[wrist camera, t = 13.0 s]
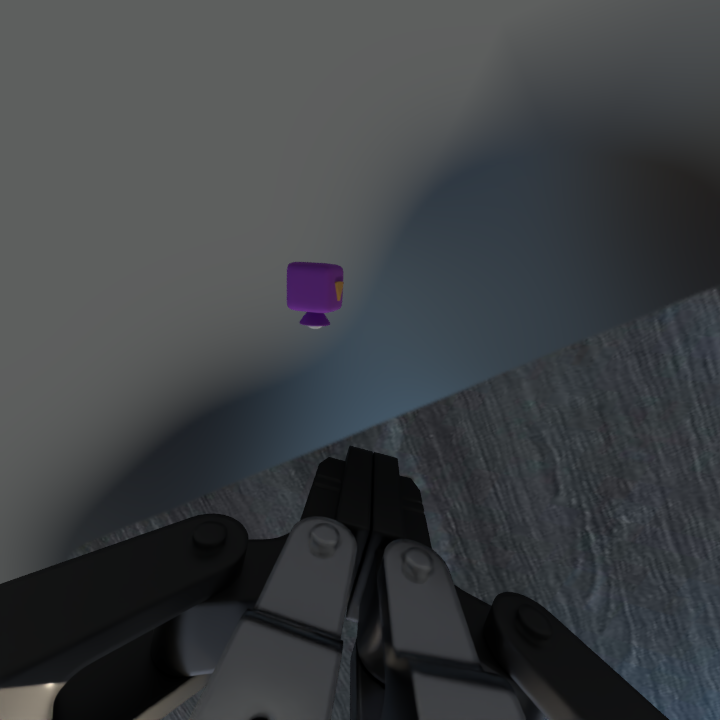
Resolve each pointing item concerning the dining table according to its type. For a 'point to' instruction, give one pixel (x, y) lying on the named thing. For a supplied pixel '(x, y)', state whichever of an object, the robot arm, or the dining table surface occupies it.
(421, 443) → the dining table surface
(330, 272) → the toy camera
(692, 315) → the dining table surface
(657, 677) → the dining table surface
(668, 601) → the dining table surface
